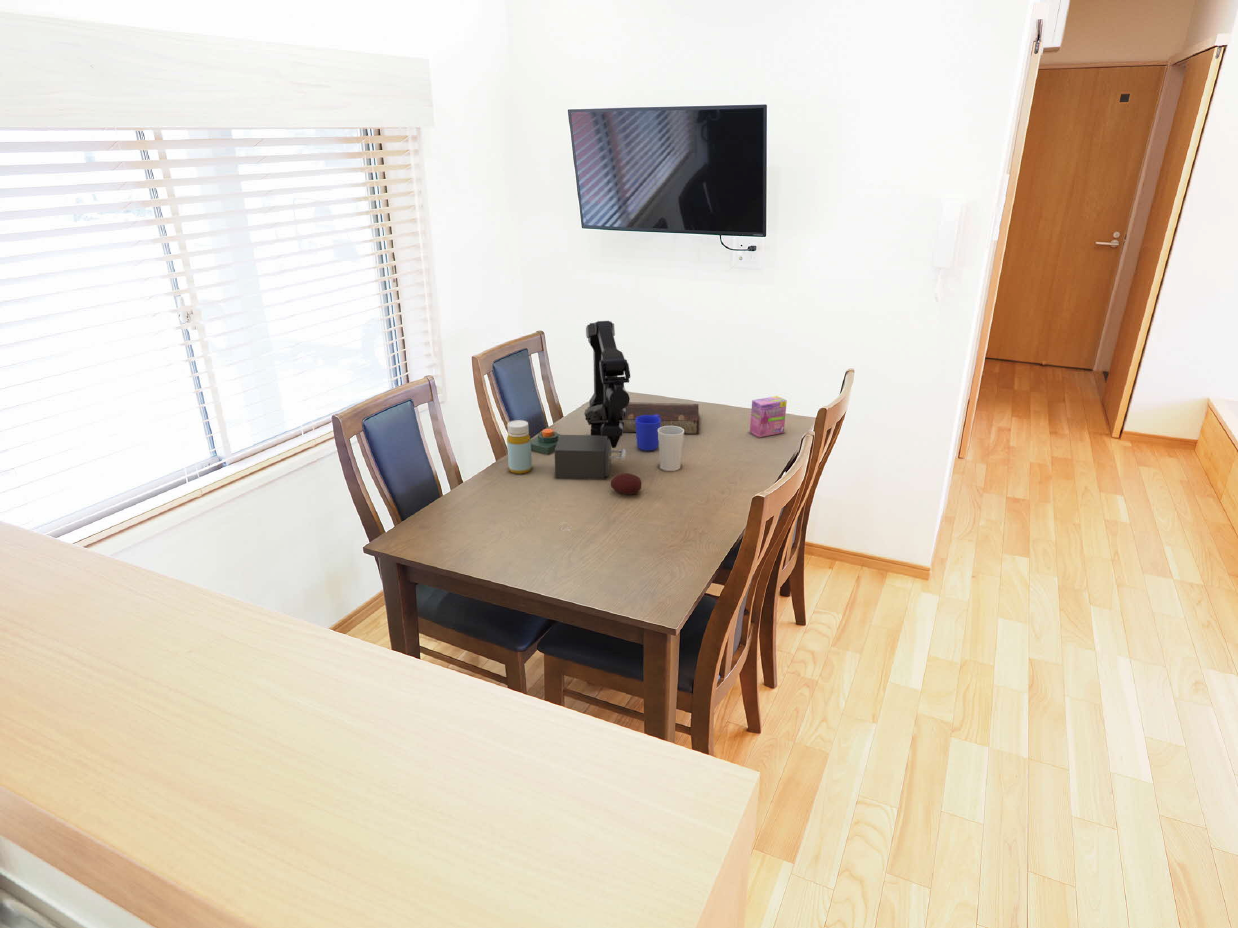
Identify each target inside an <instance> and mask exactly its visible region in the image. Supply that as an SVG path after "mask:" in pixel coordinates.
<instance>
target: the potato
mask: <svg viewBox="0 0 1238 928" xmlns="http://www.w3.org/2000/svg"><path fill="white" fill-rule="evenodd" d="M642 484H643V483H642V479H641V477H639V476H638V475H636V474H633V473H629V472H622V473H619V474H617V475H615V476H613V477H612V478H611V480H610V487H611V488H612V489H613V490H614V491H615V492H617V493H619V494H623V495H636V494H637V493H639V492H640V491H641V489H642Z"/></svg>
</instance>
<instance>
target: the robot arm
mask: <svg viewBox="0 0 1238 928" xmlns="http://www.w3.org/2000/svg"><path fill="white" fill-rule="evenodd" d="M615 336H616V331H615V323H613V322H612V321H611V320H597V321H595V322H590V323H589V324H587V325H586V326H585V337H586V339H587V341H588V343H589V345H590V346H591V348H592V350H593V351H592V352H593V354H592V356H593V394H592V396H591V397H590V399H589V402H588V403H589V406H587V408H586V409H585V410H584V416H585V418H584V419H585V420H586V422H587V424H588V426H590V435H601V436H607V439H610V442H611V449H616V448H617V445H618V443H619V441H620V439H621V437H622V436H623V435H624V432H623V428H624V422H621V421H623V418H625V416H626V409H625V407H626V406H627V405H628V404H629V402H630V400H631V399H630V395H629V393H628V391H627V389H626V388H625V384H628V383H630V379H631V371H630V365H629V362H628V360H627V359H625V355H624V352H623V351H621V350H619V349H618V347H617V343H616V340H615Z"/></svg>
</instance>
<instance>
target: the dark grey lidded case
mask: <svg viewBox="0 0 1238 928" xmlns="http://www.w3.org/2000/svg"><path fill="white" fill-rule="evenodd" d="M606 443H607V436H601V435H591V434H561V435H560V437H559V439H558V442H557V445H556V447H555V450H554V452H553V453H554V473H555V474H554V475H555V479H565V480H568V479H570V480H571V479H572V480H605V478H606V476H605V475H604V452H605V447H606Z"/></svg>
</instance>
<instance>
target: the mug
mask: <svg viewBox="0 0 1238 928" xmlns="http://www.w3.org/2000/svg"><path fill="white" fill-rule="evenodd" d="M635 423H636V432H635V433H636V436H635V437H636V445H637V448H638V449H639V450H641V451H644V452H652V451H656V450H657V449H658V448H659V441H658V429H659V428H660V425H661V419H660V418H659V415H654V416H653V415H643V416H639V417H637V418H636V419H635Z"/></svg>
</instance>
